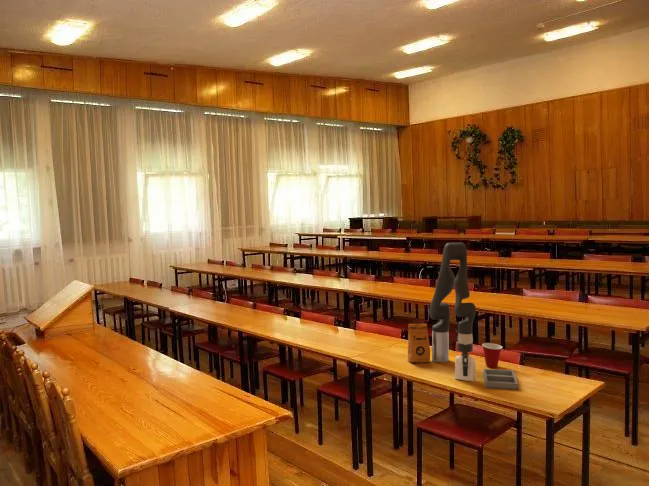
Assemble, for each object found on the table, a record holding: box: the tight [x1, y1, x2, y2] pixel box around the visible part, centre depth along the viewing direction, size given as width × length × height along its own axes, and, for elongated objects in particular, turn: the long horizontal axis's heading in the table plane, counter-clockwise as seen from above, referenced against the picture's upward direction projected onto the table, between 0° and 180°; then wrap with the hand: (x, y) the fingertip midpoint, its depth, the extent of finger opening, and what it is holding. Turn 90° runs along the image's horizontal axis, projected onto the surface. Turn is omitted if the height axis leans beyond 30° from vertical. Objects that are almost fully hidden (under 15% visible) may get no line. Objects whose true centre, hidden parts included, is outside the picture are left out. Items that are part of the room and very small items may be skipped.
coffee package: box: [407, 323, 431, 364], centre depth 312 cm, size 10×12×22 cm
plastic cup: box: [481, 342, 503, 369], centre depth 300 cm, size 11×11×12 cm
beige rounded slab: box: [454, 355, 476, 382], centre depth 280 cm, size 10×4×12 cm, turn 61°
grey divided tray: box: [482, 368, 519, 391], centre depth 276 cm, size 15×21×3 cm
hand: (465, 374), depth 280 cm, fingers closed on beige rounded slab, 5 cm apart
